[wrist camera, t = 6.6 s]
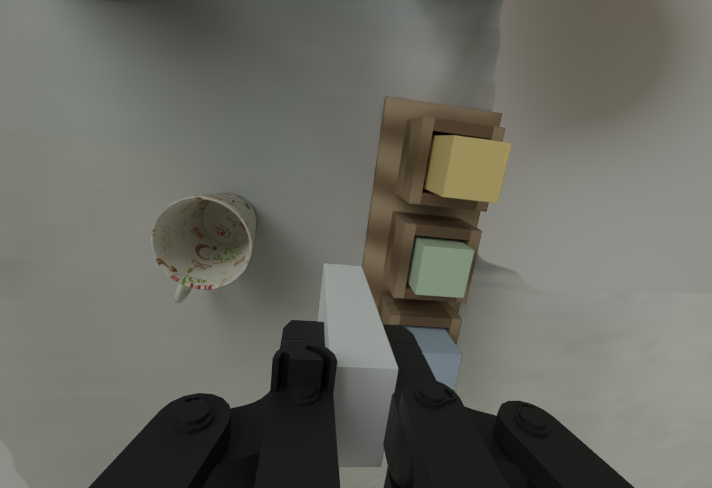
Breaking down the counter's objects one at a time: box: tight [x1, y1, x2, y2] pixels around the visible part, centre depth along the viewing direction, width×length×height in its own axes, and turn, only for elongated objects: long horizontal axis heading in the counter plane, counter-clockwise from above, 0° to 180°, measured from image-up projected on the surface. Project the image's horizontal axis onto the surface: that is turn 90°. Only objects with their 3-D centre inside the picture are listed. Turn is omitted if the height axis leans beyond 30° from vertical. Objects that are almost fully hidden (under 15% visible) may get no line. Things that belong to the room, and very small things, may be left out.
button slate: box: [403, 325, 462, 390], centre depth 38 cm, size 5×5×7 cm
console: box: [362, 96, 505, 345], centre depth 40 cm, size 32×13×7 cm, turn 173°
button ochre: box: [423, 135, 512, 203], centre depth 33 cm, size 5×5×7 cm
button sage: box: [407, 235, 474, 298], centre depth 38 cm, size 5×5×7 cm
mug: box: [151, 193, 256, 303], centre depth 36 cm, size 8×13×10 cm, turn 151°
